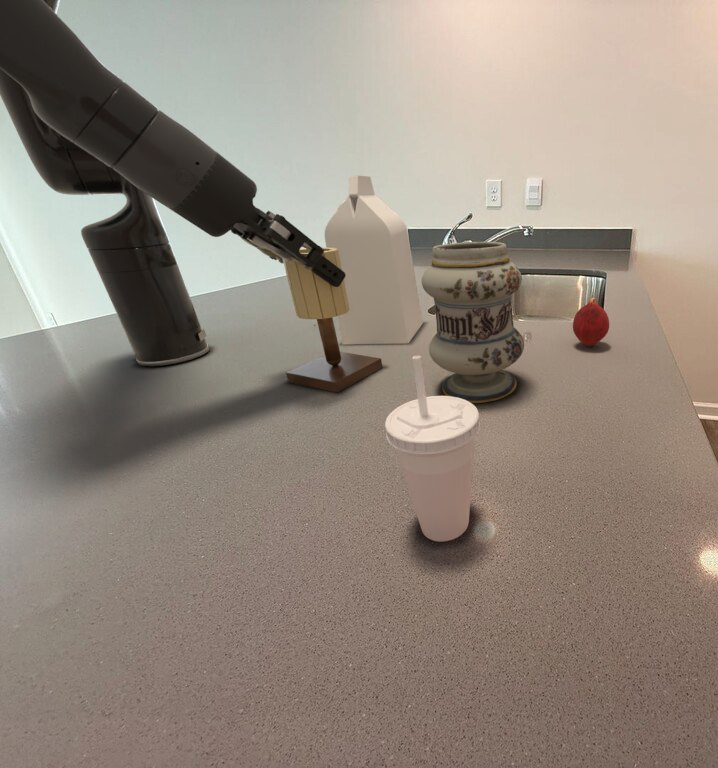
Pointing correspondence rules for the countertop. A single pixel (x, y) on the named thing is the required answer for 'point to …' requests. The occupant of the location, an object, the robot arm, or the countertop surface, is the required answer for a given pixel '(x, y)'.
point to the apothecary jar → (474, 318)
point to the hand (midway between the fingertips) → (328, 277)
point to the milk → (374, 269)
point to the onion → (591, 323)
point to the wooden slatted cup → (316, 289)
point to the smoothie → (436, 457)
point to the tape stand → (333, 364)
